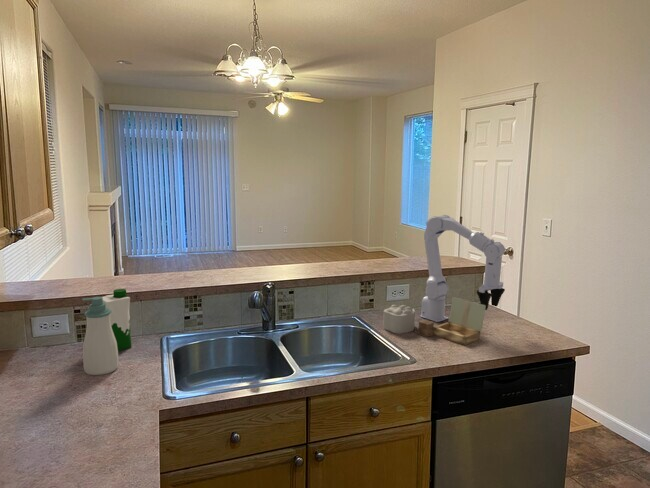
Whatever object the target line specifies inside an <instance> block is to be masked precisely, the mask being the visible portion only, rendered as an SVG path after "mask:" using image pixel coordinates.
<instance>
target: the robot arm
mask: <svg viewBox="0 0 650 488" xmlns="http://www.w3.org/2000/svg"><path fill="white" fill-rule="evenodd" d="M425 224H426V226H425V227H426V228H425V231H424V233H423V239H424V247H425V254H426V261H427V270H428V276H429V277H428V278H427V280H426V282H425V283H426V287H425V294H426V295H425V296H424V297H422V300H421V306H420V307H421V309H420V315H419V317H420V318H424V319H425V320H428V321H431V322H436V323H440V322H442V321H445V320H449V316H445V315H446V314H445V312H446V297H447V295H448V293H449V291H450V287H449V284H448V282H447V279H446V277H445V276H444V275H443V271H442V262H441V256H440V254H441V253H440V247H439V240H438V239H439V237H440V236H441V235H442V234H443V233H444V232H446V231H452V232H454V233H456V234H458V235H460V236H461V237H463V238H465V239H467V240H468V242H469V245H471V246H472V247H474V248H475V249H477V250H478V251H480V252H482V253H483V254H484V256H485V268H484V279H483V283H482V284H481V286H479V287H478V290H476V295H477V296H478V298H479V304H483V305H486V308H485V311H487V310H488V309H489V304H490V302H491V306H493V307H498V306H499V303H500V300H501V298H502V296H503V295H504V293H505V290H506V289H505V288H503V287H504V281H503V282H502V281H501V273H502V263H503V262H502V261H503V256H504V254H505V253H506V247H505V246H504V245H503V244H502V243H501V241H495V239H494V238H492V239H491V238H489V237H488V236H485V233H484V232H479V231H475V232H473V231H472V230H470V229H469V228H468V227H466V226H464V225H463V224H462V223H460V222H458V221H457V220H456V219H455V218H454V217H451V216H450V215H447V214H443V215H437V216H436V215H434V216H431V217H430V218H429V219H428V220H427V221H426V222H425ZM490 300H491V301H490Z"/></svg>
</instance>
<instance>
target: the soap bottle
mask: <svg viewBox="0 0 650 488" xmlns="http://www.w3.org/2000/svg"><path fill="white" fill-rule="evenodd" d="M102 297H103V296H94V297H89V298H88V297H85V298H81V300H82V302H89V301H91V303H90V304H89V307H88V308H89V309H87V311H85V312H84V314H83V315H84V316H85V317H86V330H85V335H84V340H83V344H82V362H83V371H84V373H86V374H87V375H90V376H103V375H107V374H110V373H112V372H114V371H116V370H117V369H118V368H119V365H120V361H119V360H120V359H119V351H118V348H117V341H116V339H115V336H114V333H113V330H112V327H111V322H110V313H111V310H110V309H108V308H106V303H103V298H102Z"/></svg>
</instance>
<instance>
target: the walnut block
mask: <svg viewBox="0 0 650 488" xmlns="http://www.w3.org/2000/svg"><path fill="white" fill-rule="evenodd" d="M434 323H435V321H432V320H429V319H424V320H420V321H418V329H417V330H418V332H417V334H418V335H420V336H423V337H425V338H428V337H430V336H433V328H434V327H435V326H434Z"/></svg>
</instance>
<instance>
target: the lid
mask: <svg viewBox="0 0 650 488" xmlns="http://www.w3.org/2000/svg"><path fill="white" fill-rule="evenodd" d="M485 308H486V305H483V304H481V303H480V302H479V303H478V302H476V301H475V302H474V301H471V300H467V299H463V298H459V297H455V296H452V300H451V305H450V311H449V316H448V322H451V323H454V324H457V325H461V326H464V327H467V328H470V329H474V330H477V331H480V332H482V331H483V323H484V319H485V313H486V310H485Z"/></svg>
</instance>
